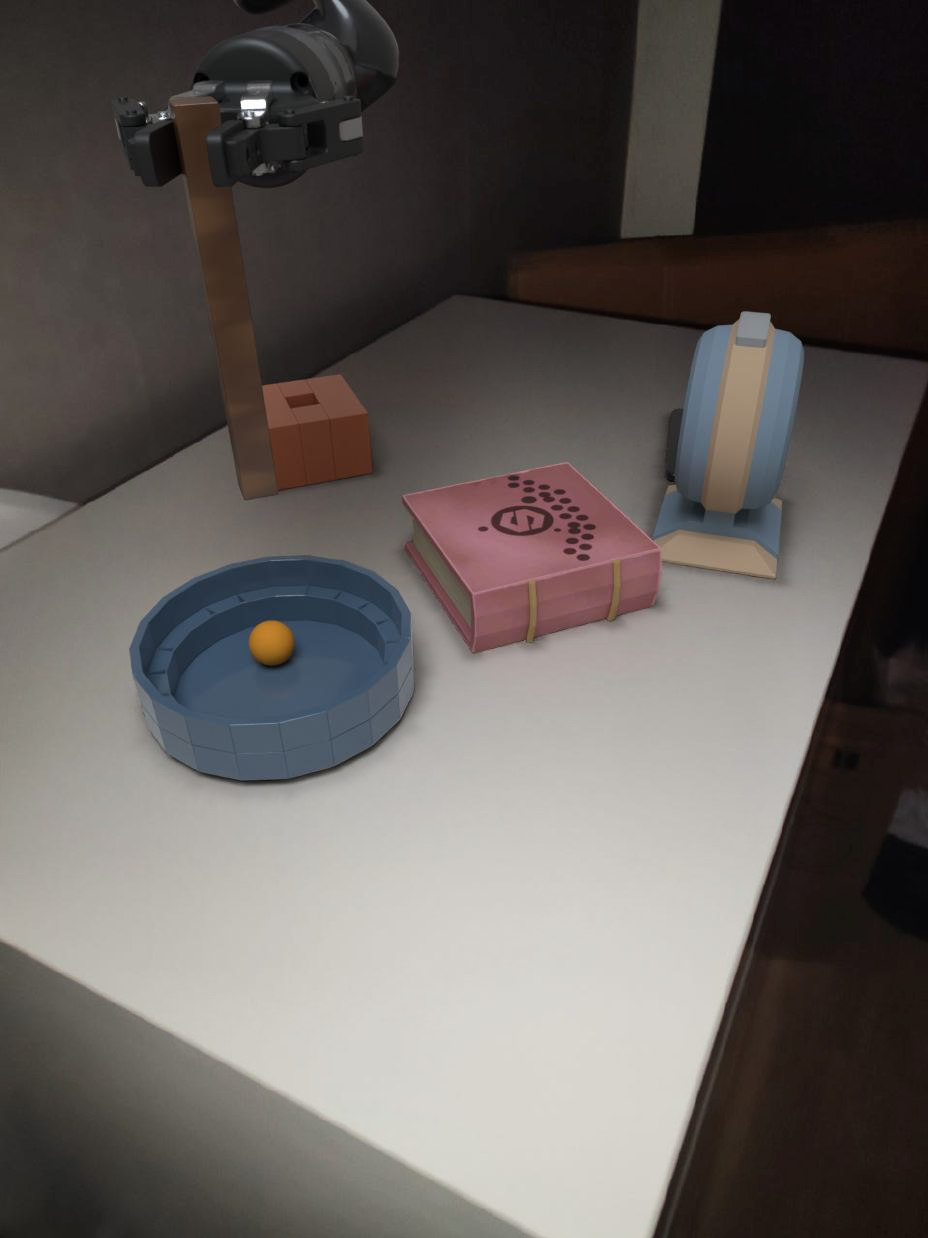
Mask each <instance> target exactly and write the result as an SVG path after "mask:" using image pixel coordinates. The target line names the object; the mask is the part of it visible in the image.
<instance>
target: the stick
mask: <svg viewBox="0 0 928 1238" xmlns="http://www.w3.org/2000/svg"><path fill="white" fill-rule="evenodd" d="M168 102H169V106H170V111H171V117H172V122H173V127H174V133H175V138H176V144H177V149H178V155H179V160H180V166H181V171H182V174H181V176H182V182H183V187H184V193H185V198H186V204H187V210H188V216H189V220H190V226H191V232H192V238H193V243H194V249H195V254H196V260H197V264H198V265H197V266H198V269H199V275H200V280H201V282H200V283H201V286H202V292H203V299H204V303H205V309H206V314H207V319H208V320H207V321H208V325H209V330H210V336H211V342H212V347H213V352H214V357H215V363H216V368H217V369H216V370H217V374H218V381H219V384H220V385H219V387H220V393H221V397H222V402H223V403H222V404H223V408H224V413H225V418H226V424H227V429H228V436H229V439H230V440H229V441H230V445H231V451H232V457H233V463H234V467H235V468H234V469H235V474H236V479H237V483H238V484H237V485H238V487H239V490H240V493H241V495H242V498H243V500H244V501H251V500H255V499H261V498H267V497H272V496H277V495H279V490H278V486H277V480H276V473H275V467H274V460H273V454H272V447H271V441H270V434H269V428H268V421H267V415H266V408H265V402H264V395H263V389H262V386H263V383H262V377H261V375H262V374H261V370H260V362H259V356H258V350H257V349H258V348H257V345H256V344H257V343H256V338H255V330H254V324H253V318H252V312H251V311H252V310H251V305H250V299H249V292H248V285H247V279H246V278H247V277H246V272H245V265H244V259H243V258H244V257H243V253H242V252H243V251H242V246H241V238H240V232H239V226H238V220H237V219H238V218H237V213H236V206H235V201H234V193H233V186H232V187H215V186H214V184H213V181H212V177H211V171H210V165H209V159H208V153H207V146H206V135H207V133H208V132H209V131H211V130H212V129H214V128H216V127H218V126H219V125H221V124H222V121H221V114H220V108H219V103H218V102H217V101H216V100H215V99H214V98H213V97H211V96H208V97H193V98H177V99H170V98H169V99H168Z"/></svg>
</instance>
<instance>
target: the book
mask: <svg viewBox="0 0 928 1238" xmlns="http://www.w3.org/2000/svg"><path fill="white" fill-rule="evenodd" d="M401 503H402V506H403V507H404V508H405V510H406V511H407V512H408V514H409V516H410V517H411V518H412V528H413V529H412V532H413V539H412V540H410V541H406V542H404V551H405V552H406V554H407V556H408V557H409V559H410V560H411V562H412V564H414V566H415V568H416V570H418V573H419V574H420V575H421V577H422V578H423V580H424V581H425V583H426V585H427V586H428V587H429V589H430V590H431V592H432V593H433V595H434V596H435V598H436V600H437V601H438V603H439V604H440V606H441V608H443V610H444V612H445V613H446V615H447V616H448V618H449V619H450V621H451V622H452V624H453V625H454V627H455V629H456V630H457V631H458V633H459V635H460V636H461V638H462V639H463V641H464V642H465V644H466V645H467V647H468V649H470V652H471V653H472V654H475V653H479V652H483V651H487V650H490V649H494V648H495V649H496V648H497V647H502V646H506V645H510V644H513V643H517V642H521V641H525V642H527V643H529V644H531V643H533V642H534V641H533V640H534V638H537V637H540V636H544V635H548V634H551V633H555V632H559V631H563V630H567V629H571V628H574V627H578V626H581V625H586V624H590V623H594V622H597V621H601V620H605V619H606V621H608V622H613V621H614V619H615V617H617V616H620V615H624V614H628V613H632V612H635V611H640V610H643V609H647V608H651V607H654V605H655V602H656V600H657V597H658V594H659V591H660V585H661V580H662V579H661V578H662V572H663V568H662V567H663V566H662V564H663V562H662V560H661V548H660V547H659V546H658V545H657V544H656V543H655V542H654V541H653V538H651V537H649V536H648V535H647V534H646V533H645V532H644V531H643V530H642V529H641V528H640V527H639V526H638V525H636V523H635V522H634V521H632V520H631V519H630V518H629V517H628V515H625V513H624V512H622V510H620V509H619V508H618V507H617V506H616V505H615V504H614V503H613V502H612V501H611V500H610V499H609V498H607V496H605V495H604V493H602V492H601V491H600V490H598V489H597V487H595V486H594V485H593V484H592V483H591V482H590V481H589V480H588V479H587V478H586V477H585V476H584V475H582V473H580V471H578V470H577V469H576V468H575V467H574V466H573V465H571V463H570V462H568V461H565V462H560V463H555V464H550V465H545V466H540V467H536V468H530V469H526V470H521V471H516V472H515V471H514V472H511V473H506V474H500V475H495V476H491V477H486V478H481V479H476V480H471V481H466V482H461V483H455V484H452V485H451V484H450V485H447V486H441V487H436V488H432V489H431V488H430V489H427V490H426V489H425V490H421V491H417V492H411V493H407V494H401Z"/></svg>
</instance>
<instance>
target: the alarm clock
mask: <svg viewBox="0 0 928 1238" xmlns="http://www.w3.org/2000/svg"><path fill="white" fill-rule="evenodd" d="M771 317H772V316H771V313H768V312H767V313H766V312H755V311H744V310H743V311H741V312H740V316H739V319H737V320H736V321H734V323H733V324H724V325H723V324H721V325H716V326H714V327H712V328H709V329H708V330H706V331H704V332H703V333H702V335H701V336H700V338H698V340H697V343H696V345H695V346H696V347H695V351H694V354H693V358H692V363H691V367H690V372H689V378H688V382H687V387H686V394H685V399H684V405H683V409H684V410H683V416H682V422H681V428H680V435H679V442H678V449H677V457H676V466H675V481H674V484H669V485H667V488H666V493H665V494H664V498H663V501H662V504H661V508H660V510H659V511H660V512H659V515H658V518H657V521H656V524H655V528H654V532H653V535H652V540H653V541H654V542H655V543H656V544H657V545H658V546H659V547H660V548H661V560H662V563H669V564H675V565H682V566H689V567H695V568H700V569H707V570H714V571H719V572H726V573H733V574H740V575H745V576H751V577H758V578H764V579H771V580H776V578H777V569H778V559H779V558H778V557H779V552H780V540H781V538H780V537H781V527H782V515H783V510H782V507H783V500H781V499H779V498H776V495H777V494H778V492H779V490H780V485H781V482H782V478H783V474H784V469H785V465H786V461H787V457H788V452H789V447H790V443H791V438H792V433H793V427H794V423H795V419H796V413H797V409H798V408H797V407H798V401H799V397H800V390H801V383H802V378H803V372H804V371H803V370H804V362H805V350H804V346H803V344H802V341H801V340H800V339H799V338H798V337H796V336H795V335H794V334H793V333H792V332H791V331H786V330H783V329H778V328H775V326H774V325H773V323H772V322H771Z"/></svg>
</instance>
